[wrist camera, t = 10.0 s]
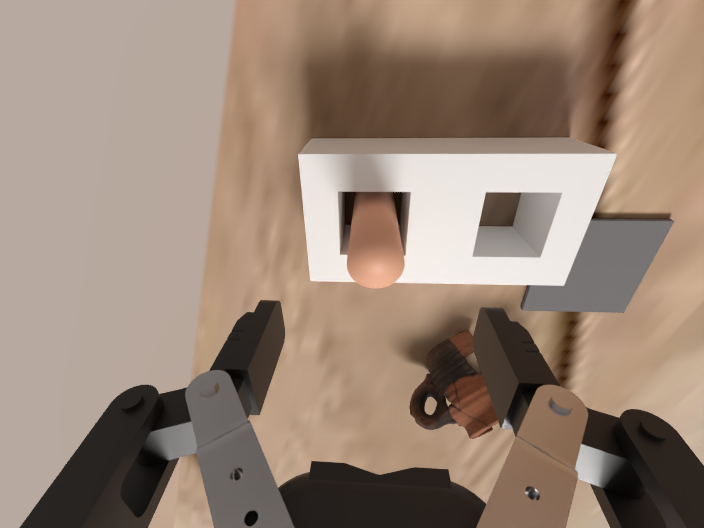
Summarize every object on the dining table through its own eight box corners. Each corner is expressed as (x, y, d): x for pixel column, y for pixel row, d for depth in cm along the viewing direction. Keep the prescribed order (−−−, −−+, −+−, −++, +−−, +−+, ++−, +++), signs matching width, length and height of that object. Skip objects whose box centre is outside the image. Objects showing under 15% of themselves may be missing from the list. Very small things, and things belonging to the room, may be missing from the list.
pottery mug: (492, 309, 31) (556, 390, 26) (491, 339, 38) (540, 407, 34) (384, 369, 32) (426, 459, 27) (403, 387, 39) (439, 460, 34)
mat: (670, 219, 25) (674, 221, 24) (620, 309, 29) (623, 312, 29) (550, 218, 25) (553, 220, 25) (520, 307, 30) (522, 310, 30)
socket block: (569, 137, 22) (617, 153, 18) (533, 251, 27) (563, 285, 23) (311, 138, 23) (298, 154, 19) (319, 248, 28) (310, 281, 23)
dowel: (394, 179, 24) (406, 239, 16) (392, 216, 26) (402, 288, 17) (354, 179, 24) (345, 238, 16) (354, 216, 26) (347, 287, 17)
